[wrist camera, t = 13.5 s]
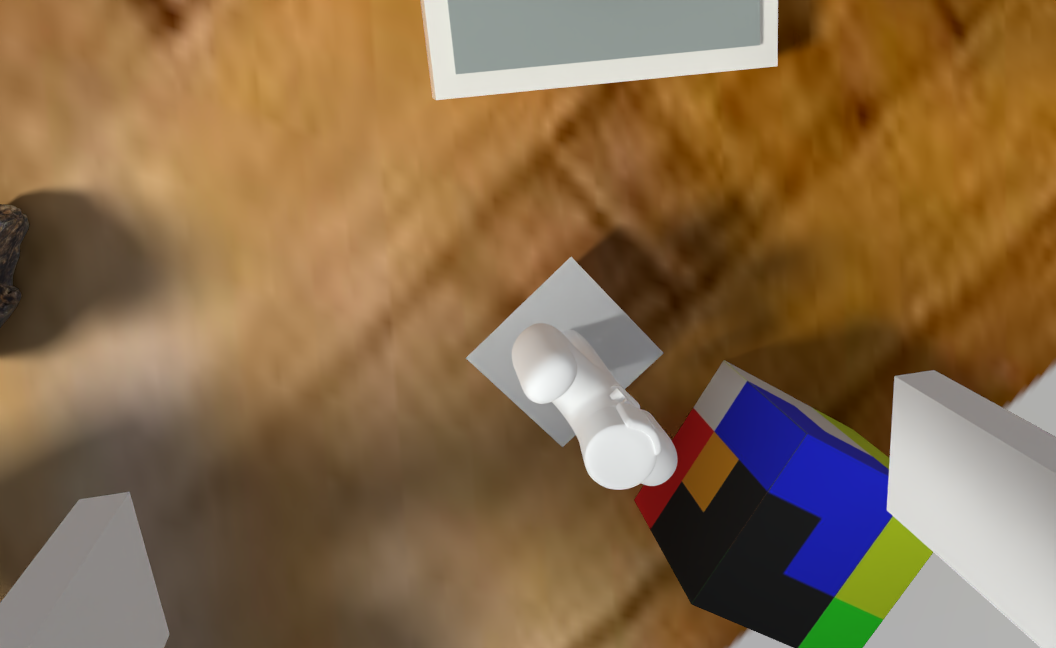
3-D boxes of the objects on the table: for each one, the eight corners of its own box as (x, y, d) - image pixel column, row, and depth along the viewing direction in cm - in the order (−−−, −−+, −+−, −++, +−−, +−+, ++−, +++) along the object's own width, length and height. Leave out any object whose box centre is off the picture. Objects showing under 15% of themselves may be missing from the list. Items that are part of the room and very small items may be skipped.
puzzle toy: (723, 359, 46) (807, 433, 36) (851, 428, 48) (961, 514, 39) (633, 499, 47) (691, 604, 38) (762, 558, 50) (846, 669, 41)
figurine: (563, 430, 45) (636, 591, 31) (445, 321, 42) (468, 444, 28) (655, 344, 45) (774, 468, 30) (542, 227, 42) (616, 304, 27)
